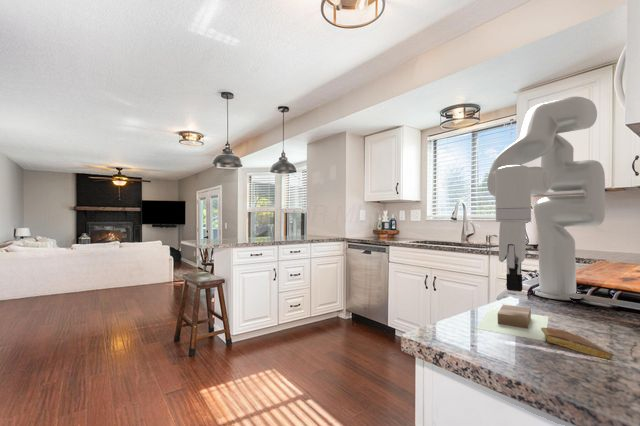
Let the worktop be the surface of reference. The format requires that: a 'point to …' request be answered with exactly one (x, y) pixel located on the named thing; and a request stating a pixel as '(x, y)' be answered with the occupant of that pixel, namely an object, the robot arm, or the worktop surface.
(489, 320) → the sage mat
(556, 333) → the shard
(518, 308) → the walnut slab
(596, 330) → the worktop surface
